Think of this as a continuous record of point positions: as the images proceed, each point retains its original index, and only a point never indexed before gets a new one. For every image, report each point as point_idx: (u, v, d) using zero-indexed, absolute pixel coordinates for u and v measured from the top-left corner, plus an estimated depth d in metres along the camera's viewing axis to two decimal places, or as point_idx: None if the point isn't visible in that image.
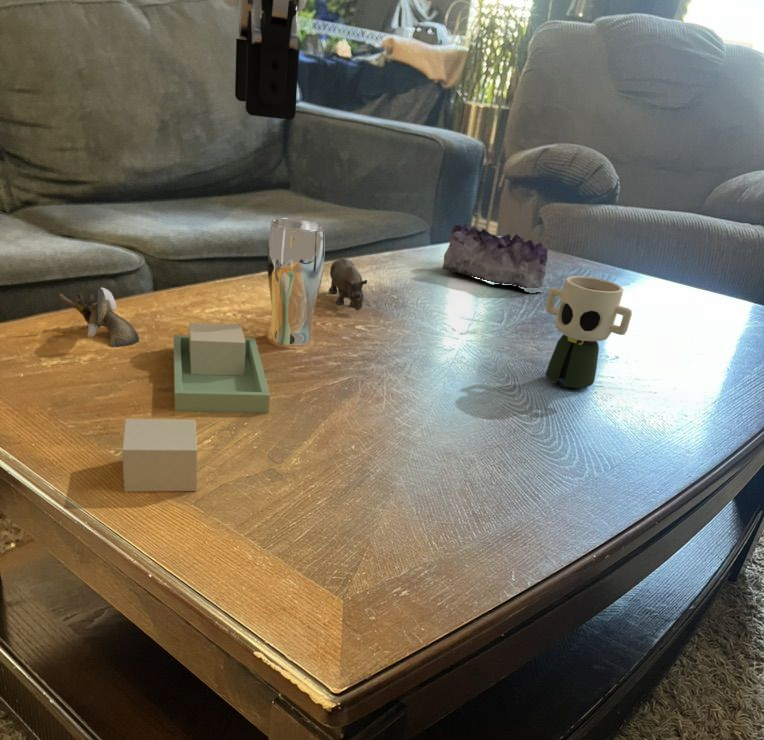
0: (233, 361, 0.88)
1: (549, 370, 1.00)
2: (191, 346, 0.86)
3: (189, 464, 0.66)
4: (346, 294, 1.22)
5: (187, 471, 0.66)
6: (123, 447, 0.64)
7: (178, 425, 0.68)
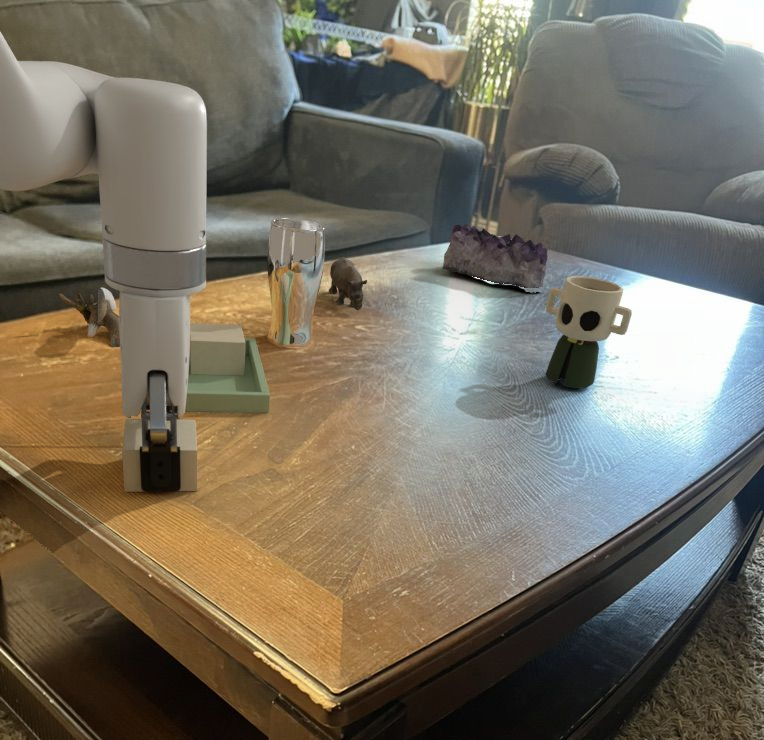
0: (233, 361, 0.88)
1: (549, 370, 1.00)
2: (191, 346, 0.86)
3: (189, 464, 0.66)
4: (346, 294, 1.22)
5: (187, 471, 0.66)
6: (123, 447, 0.64)
7: (178, 425, 0.68)
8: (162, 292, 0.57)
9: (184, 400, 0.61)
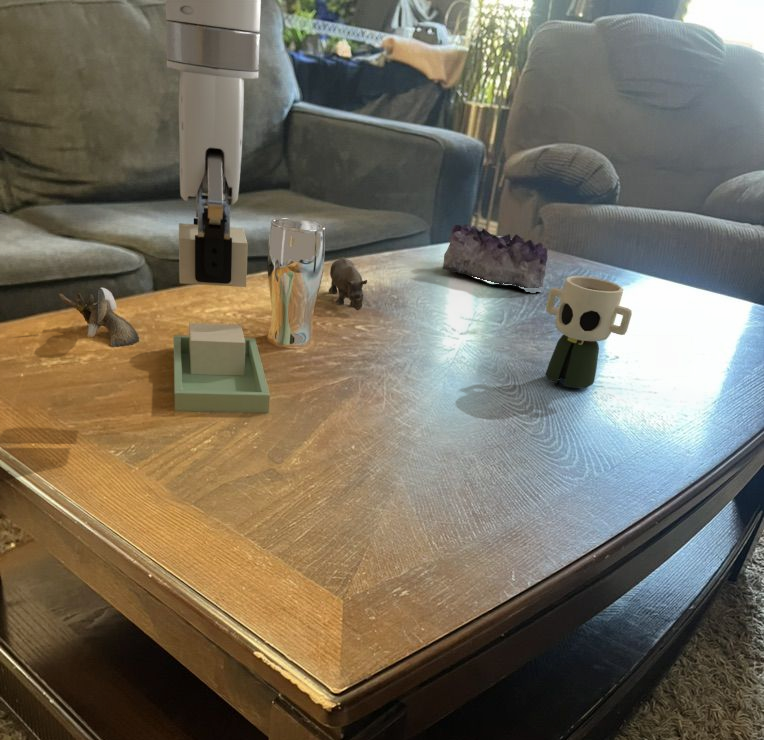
0: (233, 361, 0.88)
1: (549, 370, 1.00)
2: (191, 346, 0.86)
3: (239, 257, 0.71)
4: (346, 294, 1.22)
5: (237, 265, 0.71)
6: (180, 237, 0.69)
7: None
8: (221, 71, 0.62)
9: (238, 183, 0.66)
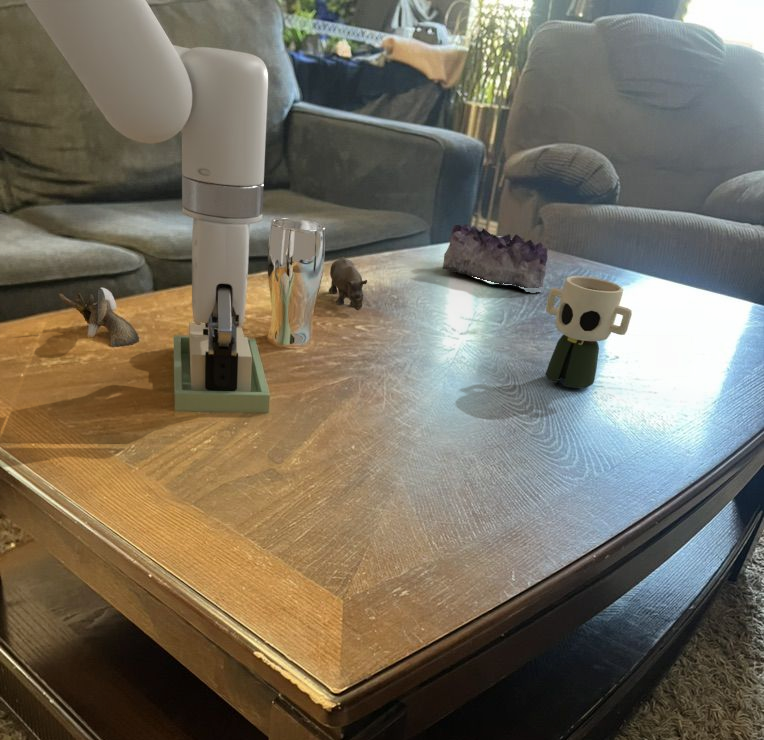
0: None
1: (549, 370, 1.00)
2: None
3: (244, 368, 0.80)
4: (346, 294, 1.22)
5: (243, 375, 0.80)
6: (192, 352, 0.78)
7: None
8: (230, 220, 0.71)
9: (244, 311, 0.75)
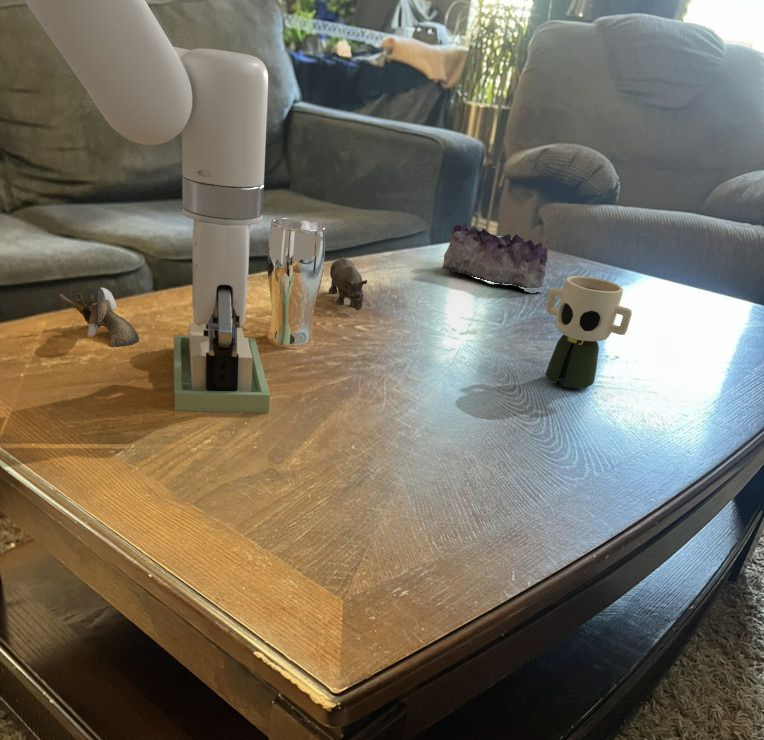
0: None
1: (549, 370, 1.00)
2: None
3: (245, 369, 0.80)
4: (346, 294, 1.22)
5: (243, 376, 0.80)
6: (193, 354, 0.78)
7: None
8: (230, 221, 0.72)
9: (244, 312, 0.75)
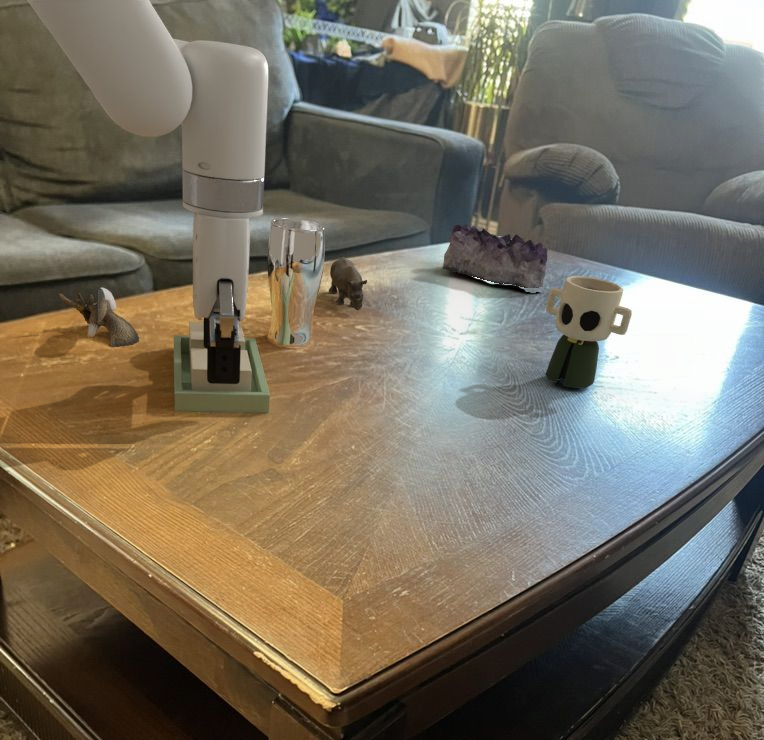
0: None
1: (549, 370, 1.00)
2: (191, 345, 0.86)
3: (244, 382, 0.81)
4: (346, 294, 1.22)
5: (243, 389, 0.81)
6: (192, 367, 0.79)
7: None
8: (231, 214, 0.71)
9: (245, 305, 0.75)
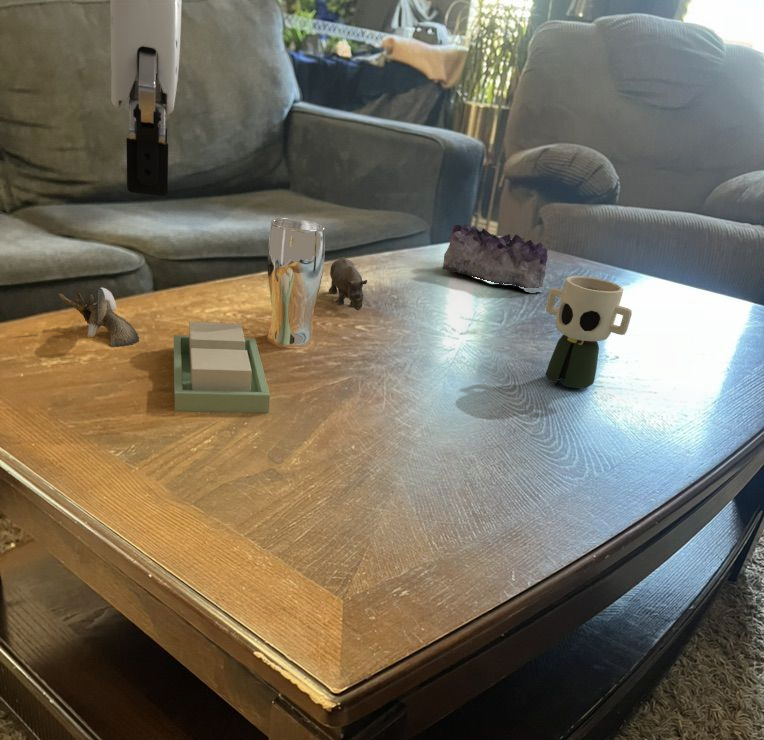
0: None
1: (549, 370, 1.00)
2: (191, 345, 0.86)
3: (244, 382, 0.81)
4: (346, 294, 1.22)
5: (243, 389, 0.81)
6: (192, 367, 0.79)
7: (233, 354, 0.84)
8: None
9: (173, 89, 0.61)
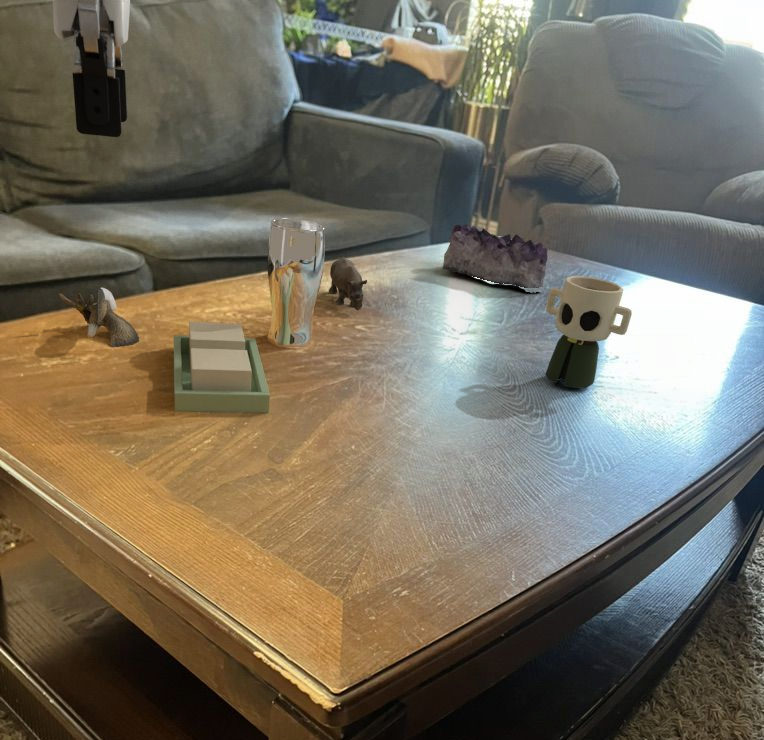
0: None
1: (549, 370, 1.00)
2: (191, 345, 0.86)
3: (244, 382, 0.81)
4: (346, 294, 1.22)
5: (243, 389, 0.81)
6: (192, 367, 0.79)
7: (233, 354, 0.84)
8: None
9: (121, 17, 0.56)
